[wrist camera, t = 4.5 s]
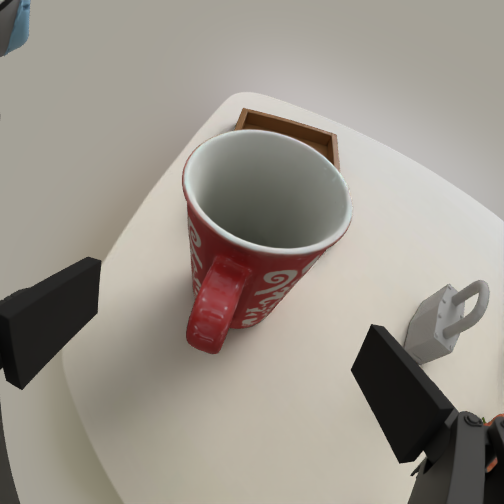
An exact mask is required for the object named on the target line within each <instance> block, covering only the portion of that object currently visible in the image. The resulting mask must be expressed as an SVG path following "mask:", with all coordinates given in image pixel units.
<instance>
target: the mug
mask: <svg viewBox="0 0 504 504" xmlns="http://www.w3.org/2000/svg"><path fill="white" fill-rule="evenodd" d="M182 186H183V192H184V196H185V199H186V201H187V211H188V230H189V240H190V253H191V268H192V280H193V292H194V297H195V302H194V305H193V308H192V311H191V315H190V317H189V321H188V325H187V331H186V339H187V342H188V343H189V344H190V345H191V346H192V347H194V348H196V349H198V350H201V351H204V352H207V353H210V354H217V353H219V351H220V350H221V347H222V346H223V343H224V340H225V338H226V335H227V333H228V330H229V328H234V329H241V328H247V327H250V326H253V325H255V324H257V323H259V322H260V321H262V320H263V319H264V318H265V317H266V316H267V315H268V314H269V313H270V312H271V311H272V310H273V309H274V308H275V306H276V305H277V304H278V303H279V302H280V301H281V300H282V299H283V298H284V297H285V296H286V294H287V293H288V292H289V291H290V290H291V289H292V288H293V287H294V285H295V284H296V283H297V282H298V281H299V280H300V279H301V278H302V277H303V276H304V275H305V274H306V273H307V271H308V270H309V269H310V268H311V267H312V266H313V264H314V263H315V262H316V261H317V260H318V259H319V258H320V256H321V255H322V254H323V253H324V252H325V251H326V249H327V248H329V247H331V246H332V245H334V244H335V243H336V242H337V241H339V240H340V239H341V238H342V237H343V235H344V234H345V232H346V231H347V229H348V227H349V225H350V223H351V219H352V213H353V203H352V198H351V194H350V191H349V188H348V186H347V184H346V182H345V180H344V178H343V177H342V175H341V174H340V172H339V171H338V170H337V169H336V168H335V166H334V165H333V164H332V163H331V162H330V161H329V160H327V159H326V158H325V157H324V156H323V155H321V154H320V153H319V152H318V151H316V150H315V149H313V148H312V147H310V146H308V145H307V144H305V143H303V142H301V141H299V140H296V139H294V138H291V137H288V136H285V135H282V134H279V133H275V132H270V131H263V130H236V131H230V132H226V133H222V134H219V135H216V136H214V137H212V138H210V139H208V140H206V141H205V142H203V143H202V144H200V145H199V146H198V147H197V148H196V149H195V150H194V151H193V152H192V154H191V155H190V156H189V158H188V159H187V161H186V164H185V166H184V169H183V175H182Z"/></svg>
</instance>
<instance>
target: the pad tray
mask: <svg viewBox="0 0 504 504" xmlns="http://www.w3.org/2000/svg"><path fill="white" fill-rule="evenodd" d="M236 130H263V131H270V132H275V133H279V134H282V135H285V136H288V137H291V138H294V139H296V140H299V141H301V142H303V143H305V144H307V145H308V146H310V147H312V148H313V149H315V150H316V151H318V152H319V153H320V154H321V155H323V156H324V157H325V158H326V159H327V160H329V161H330V162H331V163H332V164H333V165H334V166H335V168H336V169H337V170H338V171H339V172H340V164H339V153H338V143H337V135H336V134H333V133H330V132H327V131H324V130H321V129H318V128H315V127H312V126H308V125H305V124H302V123H298V122H295V121H292V120H288V119H285V118H281V117H277V116H274V115H270V114H266V113H262V112H258V111H254V110H250V109H249V110H248V109H246V108H243V109H242V112H241V114H240V117H239V119H238V122H237V124H236V127H235V129H234V131H236Z"/></svg>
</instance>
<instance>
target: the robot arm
mask: <svg viewBox="0 0 504 504" xmlns="http://www.w3.org/2000/svg"><path fill="white" fill-rule="evenodd" d="M29 13H30V0H0V57H1V56H5V55H6V54H8V53H9V52H11V51H13V50H15V49H17V48H19V47H21V46H22V45H23V44H24V43H25V42H26V41H27V39H28V36H29ZM100 270H101V260H97V259H94V258H91V257H86V258H84V259H82V260H80V261H79V262H76V263H75V264H73V265H71V266H69V267H67V268H65V269H63V270H61V271H60V272H58V273H56V274H54V275H52V276H50V277H48V278H47V279H45V280H43V281H41V282H39V283H38V284H36V285H34V286H32V287H31V288H25V289H22V290H18V291H16V292H14V293H13V294H11V295H10V296H7V297H6V298H4V300H1V301H0V369H2V368H3V370H4V374H5V378H6V381H8V382H9V383H11V384H12V385H14V386H16V387H18V388H19V389H21V390H23V389H24V387H25V386H26V385H27V384H28V383H29V382H30V381H31V380H32V379H33V378H34V377H35V375H36V374H37V373H38V372H39V371H40V370H41V369H42V368H43V367H44V366H45V365H46V364H47V363H48V362H49V361H50V360H51V359H52V358H53V357H54V356H55V355H56V354H57V353H58V352H59V350H61V349H62V348H63V347H64V346H65V345H66V344H67V343H68V342H69V341H70V340H71V339H72V338H73V337H74V336H75V335H76V334H77V333H78V332H79V331H80V330H81V329H82V328H83V327H84V326H85V325H86V324H87V323H88V322H89V321H90V320H91V319H92V318H93V317H94V316H95V315H96V314H97V313H98V296H99V282H100ZM351 372H352V373H353V375H354V377H355V379H356V381H357V383H358V385H359V387H360V388H361V390H362V392H363V394H364V396H365V398H366V400H367V402H368V404H369V405H370V407H371V409H372V411H373V413H374V415H375V417H376V419H377V421H378V423H379V425H380V427H381V428H382V430H383V432H384V434H385V436H386V438H387V440H388V442H389V444H390V446H391V448H392V450H393V452H394V454H395V456H396V458H397V460H398V462H399V464H400V463H407V462H413V461H415V460H416V459H417V457H418V456H419V455H420V454H421V453H422V451H424V452H425V454H426V457H425V459H424V460H423V461H422V462H421V463H420V464H419V465H418V467H417V468H416V469H415V470H414V471H413V472H412V474H411V476H413V475H414V474H415V473H417V472H418V475H417V476H416V481H415V484H414V487H413V490H412V493H411V496H410V498H409V501H408V504H504V417H502V416H498V417H496V418H495V419H494V421H493V422H492V423H491V425H490V426H485V425H483V422H482V420H481V419H480V418H479V417H477V416H476V415H475V414H473V413H470V412H467V411H462V412H460V413H459V412H458V411H457V409H456V408H455V407H454V406H453V405H452V403H451V402H450V401H449V400H448V399H447V397H446V396H444V394H443V393H442V391H441V390H439V388H438V387H437V386H436V384H435V383H434V382H433V381H432V380H431V379H430V378H429V377H428V376H427V375H426V373H425V372H424V371H423V370H422V369H421V368H420V367H419V365H418V364H417V363H416V362H415V361H414V360H413V359H412V357H411V356H410V355H409V354H408V353H407V352H406V351H405V350H404V348H403V347H402V346H401V345H400V344H399V343H398V342H397V341H396V340H395V338H394V337H393V336H392V335H391V334H390V333H389V332H388V331H387V330H386V329H385V327H384V326H378V325H373V324H371V326H370V328H369V331H368V333H367V335H366V338H365V340H364V342H363V344H362V347H361V349H360V351H359V353H358V356H357V358H356V360H355V362H354V364H353V366H352V368H351ZM495 458H497V464H496V465H495V466H494V467H493V468H492V469H491V470H490V471H489V472H488V471H487V467H488V466H489V465H490V464H491V463H492V462H493V461H494V459H495ZM0 504H20V501H19V498H18V495H17V491H16V488H15V484H14V481H13V477H12V473H11V469H10V464H9V460H8V454H7V449H6V443H5V437H4V431H3V423H2V415H1V404H0Z"/></svg>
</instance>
